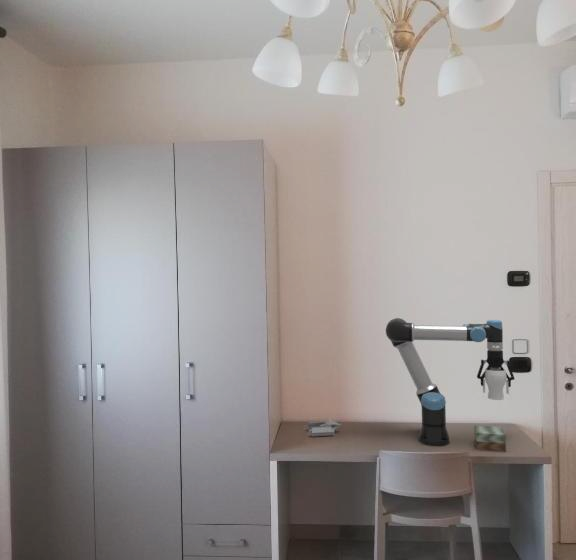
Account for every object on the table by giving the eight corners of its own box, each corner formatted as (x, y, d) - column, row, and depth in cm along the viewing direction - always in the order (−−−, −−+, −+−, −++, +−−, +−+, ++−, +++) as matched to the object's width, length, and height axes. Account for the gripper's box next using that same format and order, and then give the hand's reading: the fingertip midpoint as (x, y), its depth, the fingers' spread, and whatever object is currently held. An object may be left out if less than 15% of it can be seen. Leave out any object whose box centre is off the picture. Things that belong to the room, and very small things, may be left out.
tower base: (476, 449, 242) (476, 433, 242) (474, 441, 254) (474, 425, 254) (505, 451, 238) (505, 434, 238) (502, 443, 251) (502, 426, 251)
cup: (505, 396, 265) (504, 367, 265) (508, 401, 255) (507, 371, 255) (483, 395, 268) (483, 367, 268) (485, 400, 258) (485, 370, 258)
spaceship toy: (303, 430, 280) (303, 419, 280) (339, 428, 282) (338, 417, 282) (307, 438, 266) (307, 426, 266) (344, 436, 268) (344, 424, 268)
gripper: (471, 350, 261) (472, 393, 261) (520, 351, 254) (521, 395, 254) (470, 348, 268) (471, 390, 268) (518, 349, 261) (518, 392, 261)
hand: (495, 392), depth 261 cm, fingers closed on cup, 11 cm apart
